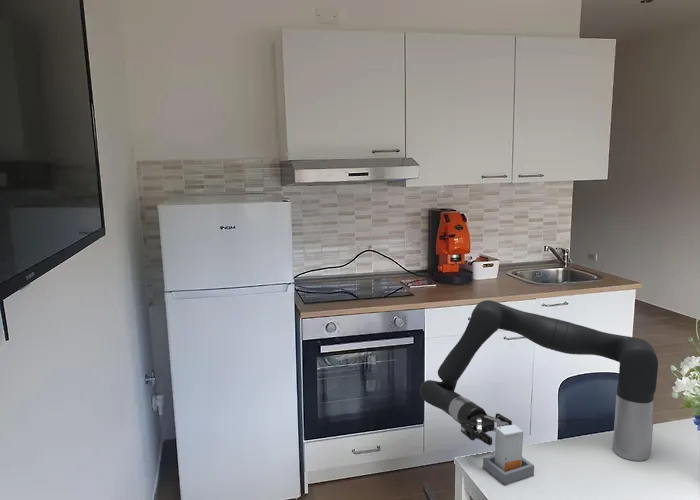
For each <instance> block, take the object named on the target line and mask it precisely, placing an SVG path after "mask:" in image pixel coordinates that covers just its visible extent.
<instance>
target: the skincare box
mask: <svg viewBox="0 0 700 500" xmlns="http://www.w3.org/2000/svg"><path fill="white" fill-rule="evenodd" d="M495 428H496V432H495V440H494V455H495V461H494V464H495V465H497V466H498V467H499V468H501V469H502V470H503V471H504V472H507V471H510V470H513V469H516V468H520V467H521V464H522V457H523V444H524V443H523V441H524V430H522V429H521V428H520V427H518V426H517V425H516V424H512V425H506V426H500V427H497V426H496V427H495Z"/></svg>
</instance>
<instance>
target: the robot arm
mask: <svg viewBox="0 0 700 500" xmlns="http://www.w3.org/2000/svg"><path fill="white" fill-rule="evenodd" d="M498 330H503V331H507V332H511V333H515V334H518V335H520V336H522V337H523V338H526V339H527V340H529V341H530V342H533V343H535V344H536V345H538V346H540V347H541V348H545V349H548V350H552V351H555V352H558V353H563V354H568V355H579V356H580V355H582V356H583V355H585V356H586V355H588V356H598V357H603V358H606V359H609V360H612V361H615V362H618V363H619V371H618V372H619V373H618V381H617V384H616V385H617V386H616V393H615V395H616V396H615V411H614V422H613V423H614V425H613V439H612V440H613V441H612V450H613V452H614V453H615V454H616V455H617V456H619V457H620V458H623V459H626V460H629V461H638V462H642V461H646V460H648V459H649V457H650V454H652V446H653V444H652V443H653V442H652V441H653V431H654V423H653V408H654V399H655V398H654V397H655V393H656V390H657V382H658V373H659V372H658V370H659V359H658V356H657V353H656V352H655V349H654V348H653V346H652V344H651V343H649V342H648V341H647V340H645V339H642V338H638V337H633V336H628V335H619V334H613V333H608V332H604V331H602V330H601V331H600V330H598V329H594V328H592V327H591V328H590V327H588V326H584V325H580V324H578V323H577V324H576V323H574V322H573V323H572V322H570V321H565V320H562V319H559V318H554V317H549V316H546V315H541V314H537V313H534V312H533V313H532V312H527V311H523V310H519V309H517V308H514V307H511V306H509V305H505V304H503V303H500V302H497V301H494V300H492V299H491V300H482V301H480V302H479V303H477V304H476V306H475V307H474V309H473V310H472V312H471V315H470V319H469V321H468V323H467V325H466V328H465V330H464V332H463V333H462V335H461V337H460V339H459V341H458V342H457V343H456V344H455V345H454V346H453V348H452V349H451V350H450V351H449V353H448V354H447V356H446V357H445V358H444V360H443V361H442V363H441V364H440V366H439V367H438V369H437V377H438V378H439V379H440V380H441V381H438V380H431V379H427V380H424V381H423V382H422V383H421V385H420V388H419V394H420V396H421V398H422V400H423V401H424V402H426V403H427V404H429V405H431V406H432V407H435V408H437V409H440V410H442V411H443V412H445V414H448V415H449V416H450V417H452V419H453V420H454V421H456V422H457V423H458V424H459V425H460V432H461V433H462V434H464V435H465V437H466V438H468V439H469V440H470V441H476V440H477V441H482V442H483V443H484V444H486V445H488V446H490V447H491V446H492V445H493V438H492V436H491V435H489V434H487V433H488V432H495V433H496V428H497V427H502V426H506V425H513V421H512V420H511V419H510V418H507V417H505V416H504V415H502V414H500V413H498V412H497V413H495V416H491V415H488V414H487V412H486V411H485V409H484V408H482V407H481V406H480V405H478V404H477V403H474V402H473V401H472V400H470V399H469V398H467V397H464V396H463V395H460V394H459V393H458V392H456V388H457V384H458V381H459V380H460V378H461V377H462V375H463V373H464V372H465V371H466V369H467V368H468V366H469V364H470V363H471V361H472V360H473V358H474V357H475V355H476V353H477V352H478V351H479V350H480V348H481V347H482V346H483V344H484V343H485V342H486V341H487V340H489V339H490V337H492V336H493V334H495V333H496V332H497V331H498ZM495 423H496V427H495Z"/></svg>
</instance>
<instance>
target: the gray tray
mask: <svg viewBox="0 0 700 500" xmlns="http://www.w3.org/2000/svg"><path fill="white" fill-rule="evenodd" d="M494 461H495V454H492V455H490V456H486V457H483V458H482V469H483V470H484V471H486V472H487V473H488V474H489V475H490V476H492V477H493V478H494V479H496V480H497V481H498V482H499V483H500V484H502V485H503V486H508V485H510V484H513V483H516V482H519V481H522V480H523V481H524V480H526V479H529V478H532V477H534V475H535V465H534V464H533V463H531V462H530V461H529V460H527V459H526V458H524V457H523V456H522V464H521V467H520V468H516V469H513V470H510V471H507V472H504V471H503V470H502V469H501V468H499V467H498V466H497V465H495V464H494Z"/></svg>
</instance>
